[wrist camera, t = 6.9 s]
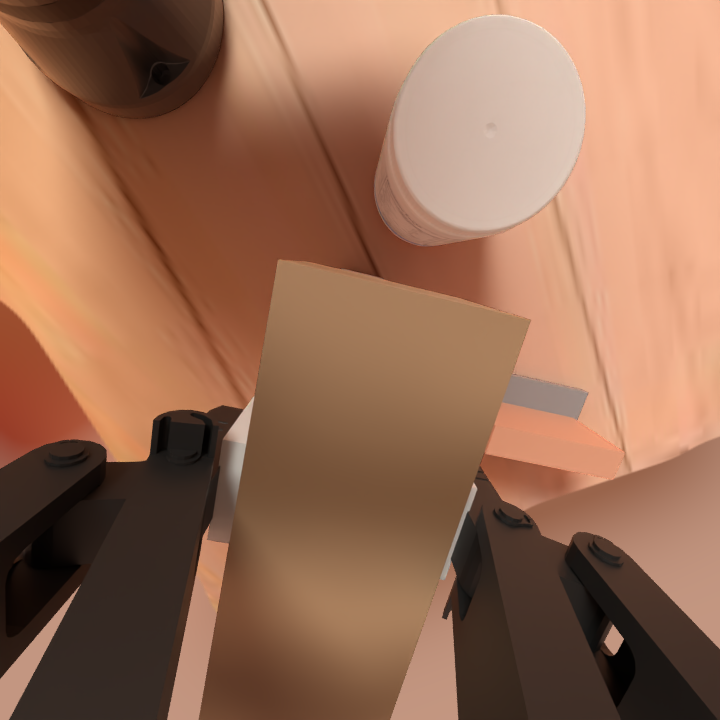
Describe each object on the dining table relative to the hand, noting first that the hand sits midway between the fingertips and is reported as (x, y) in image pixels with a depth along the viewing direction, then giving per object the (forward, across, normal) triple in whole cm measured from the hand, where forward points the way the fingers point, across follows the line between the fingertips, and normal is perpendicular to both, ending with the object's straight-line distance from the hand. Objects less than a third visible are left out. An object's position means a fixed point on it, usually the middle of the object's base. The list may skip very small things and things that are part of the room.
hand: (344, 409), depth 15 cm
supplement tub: (+20, +4, +13) cm, 24 cm away
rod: (-3, 0, -4) cm, 5 cm away
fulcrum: (+20, +18, -5) cm, 27 cm away
